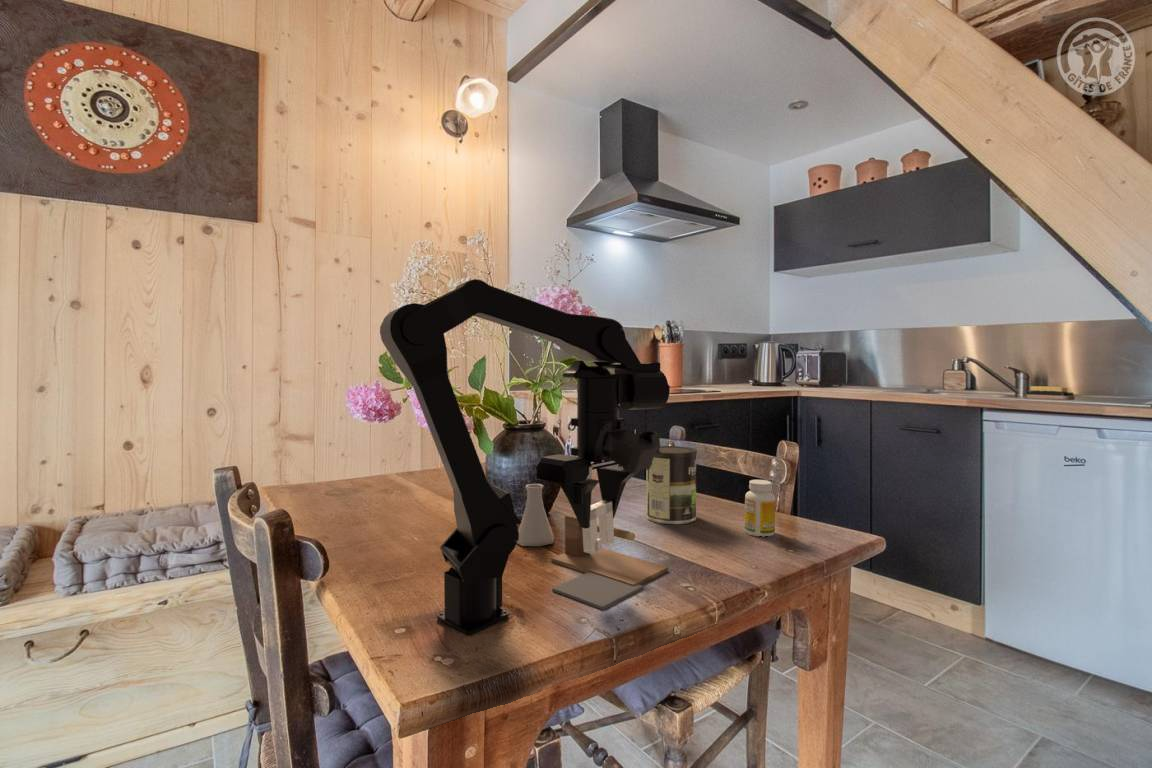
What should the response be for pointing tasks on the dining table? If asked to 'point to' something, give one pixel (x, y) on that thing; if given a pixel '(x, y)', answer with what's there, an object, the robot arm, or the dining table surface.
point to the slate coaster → (596, 590)
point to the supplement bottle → (760, 509)
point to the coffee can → (672, 486)
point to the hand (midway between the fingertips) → (597, 523)
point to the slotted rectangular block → (605, 525)
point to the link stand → (605, 557)
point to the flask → (535, 520)
